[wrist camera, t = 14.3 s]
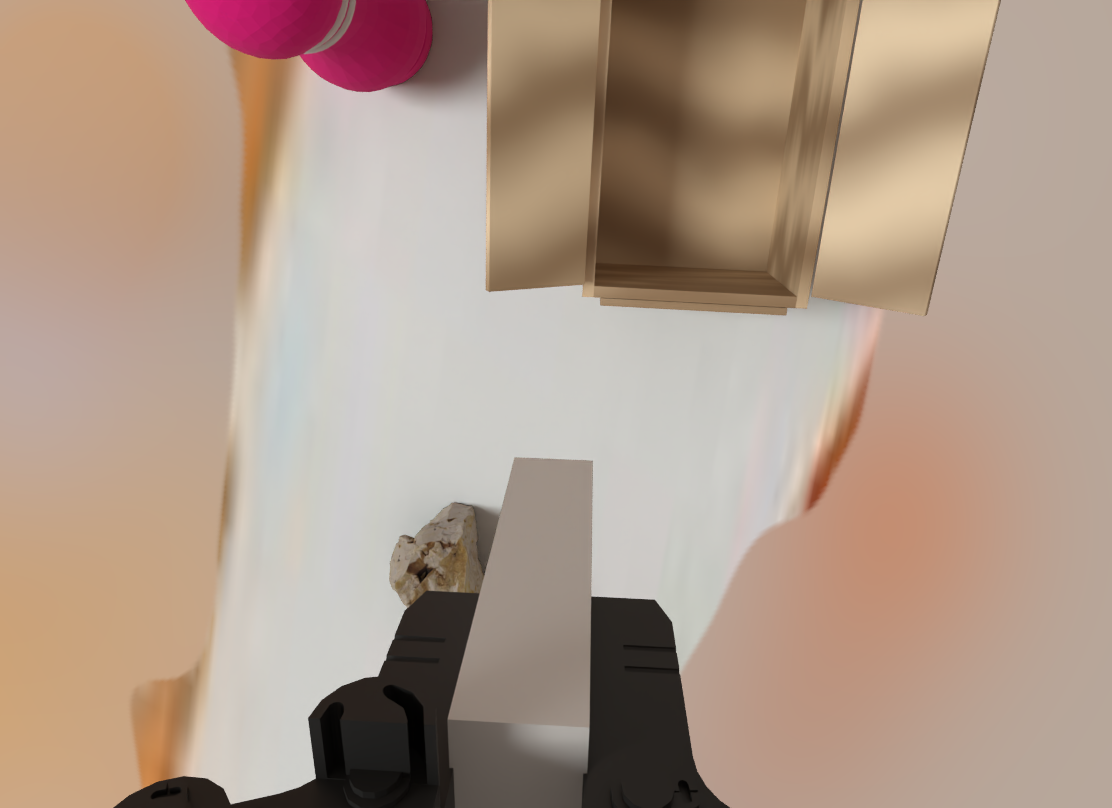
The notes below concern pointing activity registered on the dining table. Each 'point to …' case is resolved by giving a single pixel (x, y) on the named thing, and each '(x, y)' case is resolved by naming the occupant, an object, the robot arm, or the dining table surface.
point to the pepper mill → (328, 35)
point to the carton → (713, 150)
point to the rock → (438, 557)
